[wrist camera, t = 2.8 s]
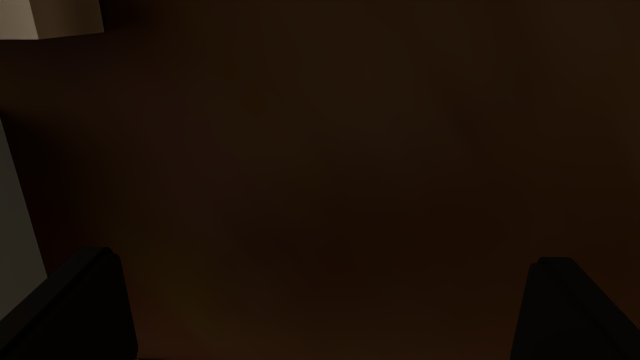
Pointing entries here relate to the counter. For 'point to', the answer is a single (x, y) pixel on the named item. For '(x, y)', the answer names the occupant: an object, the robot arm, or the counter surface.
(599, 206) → the counter surface
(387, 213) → the counter surface
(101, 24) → the trap channel
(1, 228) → the gray block
